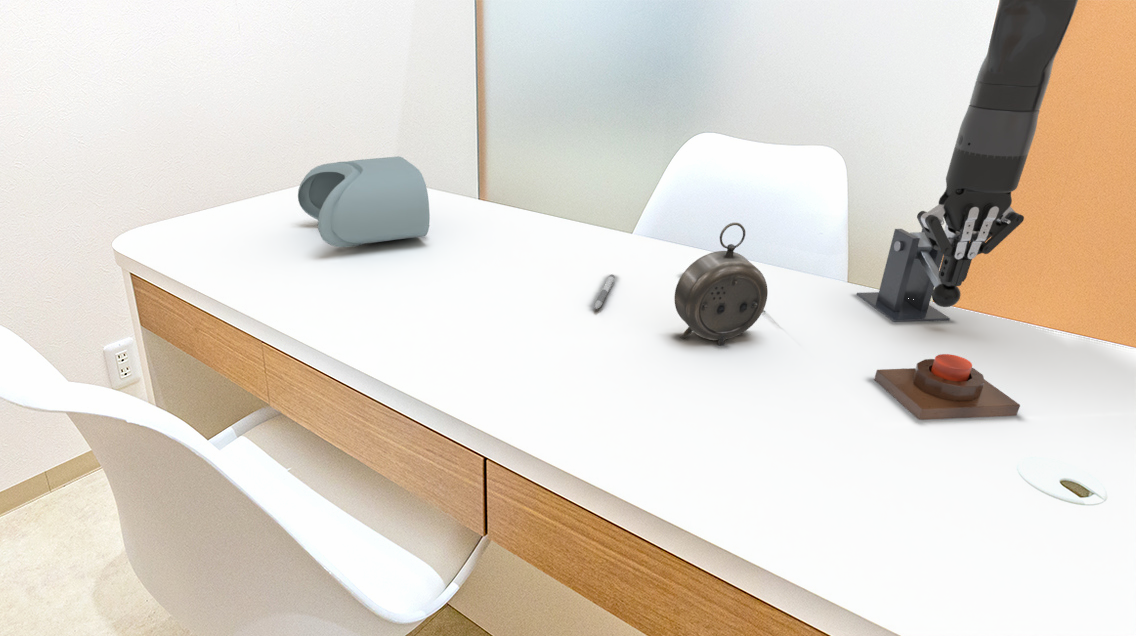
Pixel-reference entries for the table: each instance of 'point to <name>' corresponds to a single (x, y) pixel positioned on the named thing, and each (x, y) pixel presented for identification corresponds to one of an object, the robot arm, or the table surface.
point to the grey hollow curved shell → (366, 201)
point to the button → (951, 367)
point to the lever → (935, 274)
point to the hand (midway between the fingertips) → (950, 284)
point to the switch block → (945, 394)
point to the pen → (604, 292)
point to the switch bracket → (905, 283)
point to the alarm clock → (721, 294)
